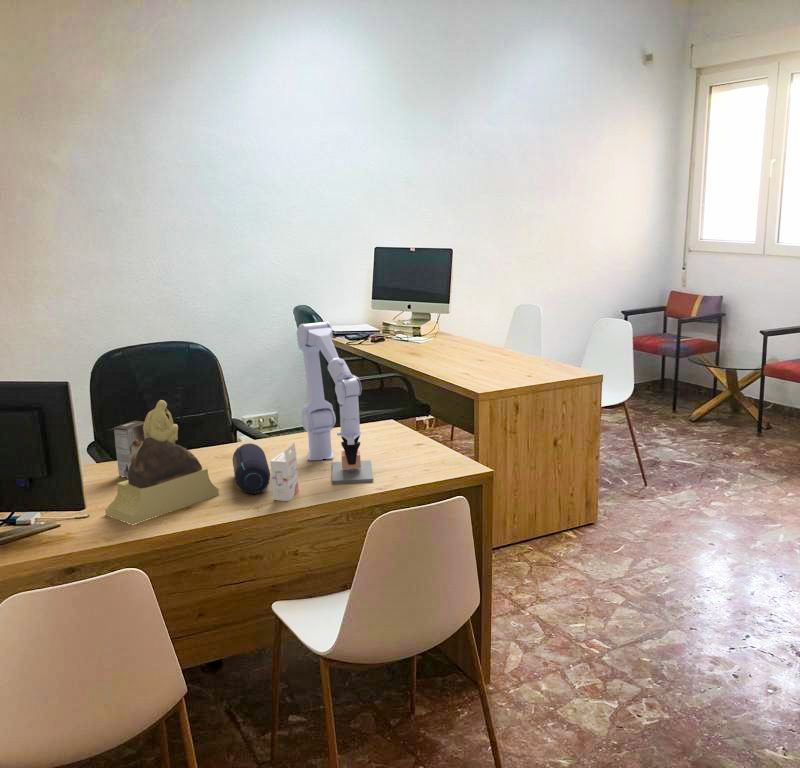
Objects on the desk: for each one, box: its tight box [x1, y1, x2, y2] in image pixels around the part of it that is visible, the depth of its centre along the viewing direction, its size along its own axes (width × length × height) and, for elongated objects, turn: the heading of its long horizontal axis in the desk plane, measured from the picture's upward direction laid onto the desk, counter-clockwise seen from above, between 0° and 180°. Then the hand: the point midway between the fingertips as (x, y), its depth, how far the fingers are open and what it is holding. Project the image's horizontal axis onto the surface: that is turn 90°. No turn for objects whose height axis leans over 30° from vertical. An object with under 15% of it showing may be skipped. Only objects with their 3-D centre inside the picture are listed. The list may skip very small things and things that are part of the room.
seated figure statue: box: [104, 399, 220, 525], centre depth 228 cm, size 28×13×30 cm, turn 140°
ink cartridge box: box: [269, 442, 300, 502], centre depth 233 cm, size 9×5×15 cm, turn 168°
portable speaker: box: [232, 443, 271, 495], centre depth 246 cm, size 25×10×10 cm, turn 14°
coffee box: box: [112, 420, 150, 477], centre depth 257 cm, size 9×6×16 cm
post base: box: [331, 460, 374, 485], centre depth 252 cm, size 18×12×6 cm, turn 4°
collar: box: [341, 449, 362, 469], centre depth 251 cm, size 6×6×4 cm
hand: (351, 461), depth 252 cm, fingers closed on collar, 6 cm apart
